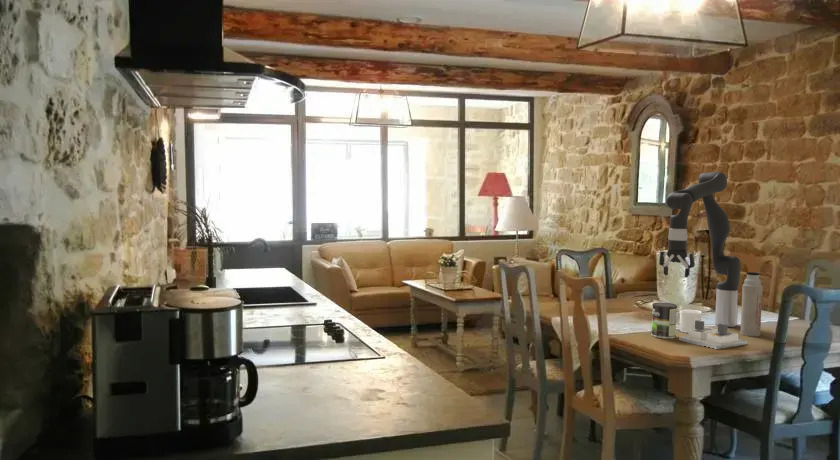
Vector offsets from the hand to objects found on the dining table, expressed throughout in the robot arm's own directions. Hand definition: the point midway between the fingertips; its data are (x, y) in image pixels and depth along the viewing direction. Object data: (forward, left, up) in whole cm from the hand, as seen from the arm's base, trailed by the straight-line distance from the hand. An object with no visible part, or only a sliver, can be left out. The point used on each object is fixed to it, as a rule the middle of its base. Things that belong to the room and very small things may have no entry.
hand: (676, 276), depth 290 cm
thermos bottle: (-37, +12, -27) cm, 47 cm away
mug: (-17, -6, -27) cm, 33 cm away
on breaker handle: (-5, +9, -22) cm, 24 cm away
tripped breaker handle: (-8, +18, -22) cm, 29 cm away
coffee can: (+1, -4, -27) cm, 28 cm away
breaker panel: (-8, +14, -27) cm, 31 cm away
